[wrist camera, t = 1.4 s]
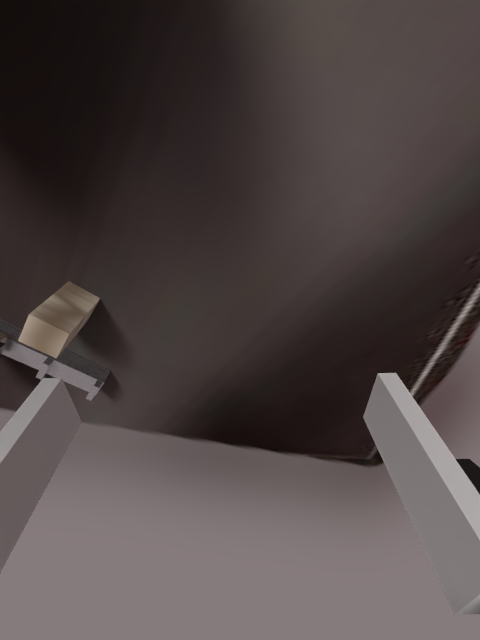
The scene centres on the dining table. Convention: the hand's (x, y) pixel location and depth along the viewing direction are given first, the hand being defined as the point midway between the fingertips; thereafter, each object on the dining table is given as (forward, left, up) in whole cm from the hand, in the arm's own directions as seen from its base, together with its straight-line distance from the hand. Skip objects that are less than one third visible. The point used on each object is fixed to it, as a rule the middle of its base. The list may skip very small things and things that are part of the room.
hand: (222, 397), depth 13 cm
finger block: (-11, -18, -24) cm, 32 cm away
